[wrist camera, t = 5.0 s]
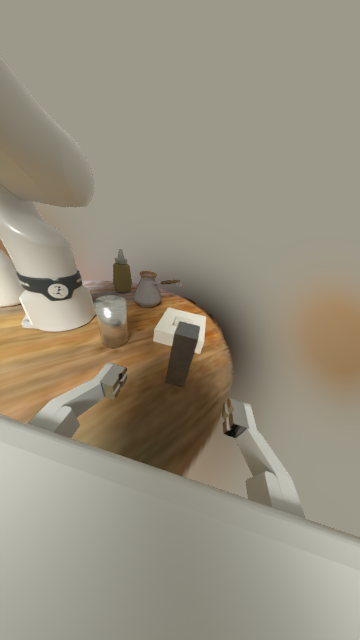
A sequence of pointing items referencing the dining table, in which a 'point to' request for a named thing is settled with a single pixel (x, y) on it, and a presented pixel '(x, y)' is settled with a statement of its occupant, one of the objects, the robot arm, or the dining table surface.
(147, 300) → the coffee pot
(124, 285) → the squeeze bottle
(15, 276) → the wine bottle
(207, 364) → the dining table surface
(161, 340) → the socket block
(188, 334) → the square bit
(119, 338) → the round bit
